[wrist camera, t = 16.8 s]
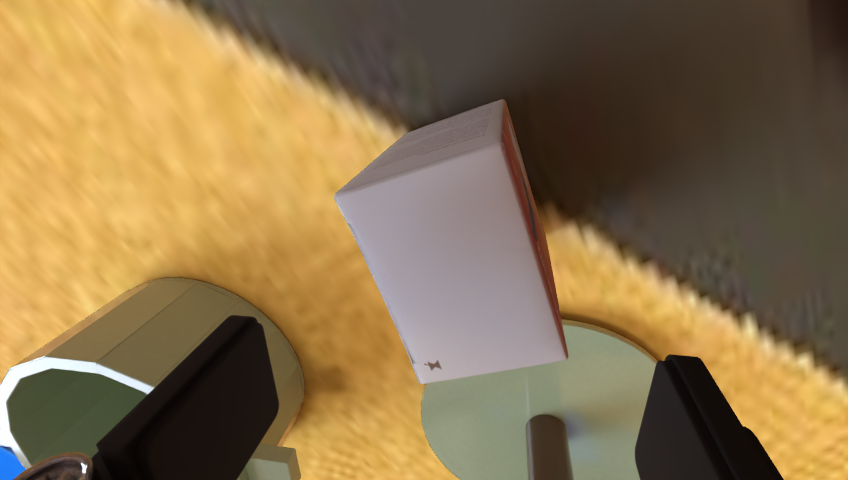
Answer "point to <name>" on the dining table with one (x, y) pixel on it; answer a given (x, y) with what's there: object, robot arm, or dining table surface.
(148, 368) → the casserole
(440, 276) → the small box
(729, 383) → the dining table surface
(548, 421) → the pot lid
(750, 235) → the dining table surface
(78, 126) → the dining table surface
